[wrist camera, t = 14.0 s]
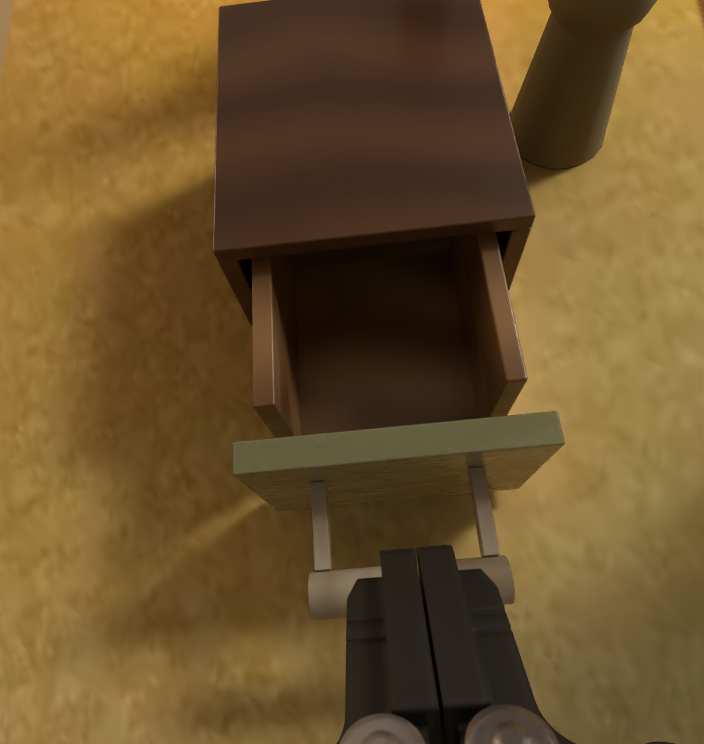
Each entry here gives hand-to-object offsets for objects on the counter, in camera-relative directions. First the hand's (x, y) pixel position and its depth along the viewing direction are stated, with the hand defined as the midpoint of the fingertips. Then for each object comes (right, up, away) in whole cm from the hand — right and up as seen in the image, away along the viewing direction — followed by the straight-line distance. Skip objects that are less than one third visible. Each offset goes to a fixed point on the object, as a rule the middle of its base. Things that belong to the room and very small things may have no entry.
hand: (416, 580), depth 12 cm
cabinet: (0, +13, +22) cm, 25 cm away
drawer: (0, +2, +16) cm, 16 cm away
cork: (+11, +19, +24) cm, 33 cm away
